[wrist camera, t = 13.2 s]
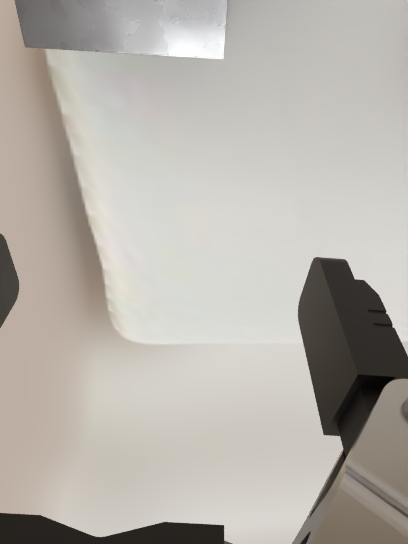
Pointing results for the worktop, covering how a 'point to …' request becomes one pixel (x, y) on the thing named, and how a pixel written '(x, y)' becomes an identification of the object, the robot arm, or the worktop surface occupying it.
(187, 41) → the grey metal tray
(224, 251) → the worktop surface
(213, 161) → the worktop surface
